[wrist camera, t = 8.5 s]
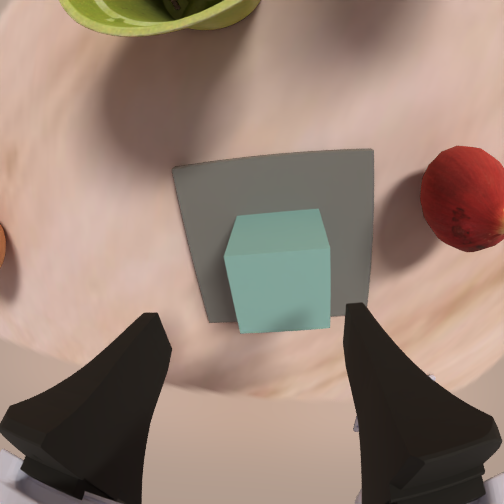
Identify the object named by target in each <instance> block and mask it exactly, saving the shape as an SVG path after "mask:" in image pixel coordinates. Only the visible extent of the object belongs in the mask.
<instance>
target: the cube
mask: <svg viewBox="0 0 504 504" xmlns="http://www.w3.org/2000/svg"><path fill="white" fill-rule="evenodd" d="M224 260H225V265H226V270H227V275H228V279H229V284H230V289H231V293H232V298H233V302H234V307H235V312H236V316H237V321H238V325H239V329H240V333H264V332H282V331H298V330H311V329H323V328H330V300H331V268H330V246H329V242H328V238H327V235H326V231H325V228H324V225H323V221H322V218H321V214H320V211H319V209H307V210H295V211H284V212H272V213H262V214H251V215H241V216H237V217H236V220H235V223H234V227H233V230H232V233H231V236H230V239H229V242H228V245H227V248H226V251H225V254H224Z"/></svg>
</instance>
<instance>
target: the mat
mask: <svg viewBox="0 0 504 504" xmlns="http://www.w3.org/2000/svg"><path fill="white" fill-rule="evenodd" d="M172 173H173V178H174V183H175V187H176V192H177V196H178V201H179V205H180V210H181V214H182V218H183V223H184V227H185V231H186V235H187V239H188V244H189V248H190V252H191V256H192V260H193V264H194V268H195V271H196V275H197V279H198V283H199V287H200V290H201V294H202V298H203V302H204V305H205V309H206V312H207V316H208V320H209V323H220V322H238V321H237V316H236V312H235V307H234V302H233V298H232V293H231V289H230V284H229V279H228V275H227V270H226V265H225V260H224V254H225V251H226V248H227V245H228V242H229V239H230V236H231V233H232V230H233V227H234V223H235V220H236V217H237V216H241V215H251V214H262V213H272V212H284V211H295V210H307V209H319V211H320V214H321V218H322V221H323V225H324V228H325V231H326V235H327V238H328V242H329V246H330V268H331V300H330V317H332V316H344V315H345V311H346V304H348V303H359V302H363V303H364V304H365V306H366V307H367V302H368V293H369V282H370V270H371V257H372V240H373V217H374V150H372V149H344V150H323V151H307V152H294V153H282V154H271V155H260V156H251V157H242V158H234V159H226V160H218V161H211V162H203V163H197V164H190V165H184V166H177V167H174V168H173V169H172Z"/></svg>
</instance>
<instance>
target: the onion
mask: <svg viewBox="0 0 504 504" xmlns="http://www.w3.org/2000/svg"><path fill="white" fill-rule="evenodd" d="M420 201H421V205H422V210H423V215H424V218H425V219H426V221H427V223H428V224H429V226H430V227H431V229H432V230H433V231H434V233H435V234H436V236H437V237H438V238H439V239H440V240H441V241H443V242H444V243H446V244H448V245H450V246H452V247H455V248H457V249H459V250H462V251H465V252H475V251H479V250H482V249H485V248H488V247H492V246H495V245H496V244H498V243H499V242H500V241H502V240H503V239H504V168H503V166H502V165H501V163H500V162H499V161H498V160H496V159H495V158H494V157H493V156H491V155H490V154H488V153H487V152H485V151H484V150H482V149H480V148H475V147H466V146H455V147H453V148H450V149H447V150H445V151H442V152H441V153H440V154H439V155H438V156H437V157H436V158H435V159H434V160H433V161H432V162H431V163H430V164H429V166H428V168H427V170H426V172H425V174H424V176H423V178H422V185H421V193H420Z"/></svg>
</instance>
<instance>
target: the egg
mask: <svg viewBox="0 0 504 504" xmlns="http://www.w3.org/2000/svg"><path fill="white" fill-rule="evenodd" d="M5 249H6V239H5V235H4V231H3V228H2V226H1V225H0V268H1V266H2V263H3V260H4V256H5Z"/></svg>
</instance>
